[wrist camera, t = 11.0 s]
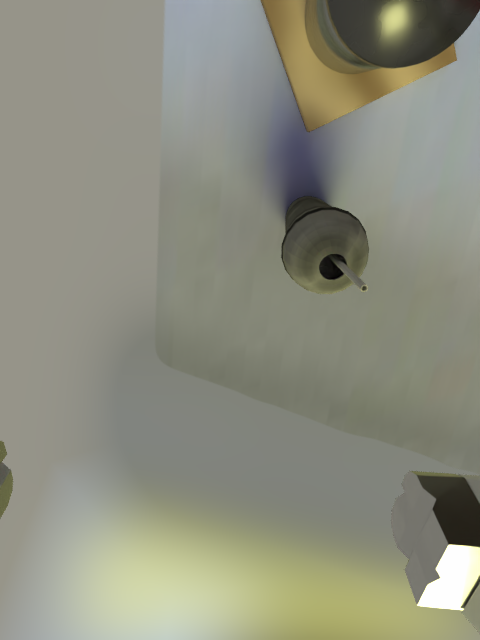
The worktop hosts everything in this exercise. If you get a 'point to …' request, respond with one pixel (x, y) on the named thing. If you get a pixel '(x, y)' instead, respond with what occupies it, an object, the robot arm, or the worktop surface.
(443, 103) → the worktop surface
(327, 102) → the plate
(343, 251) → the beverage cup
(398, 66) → the press
